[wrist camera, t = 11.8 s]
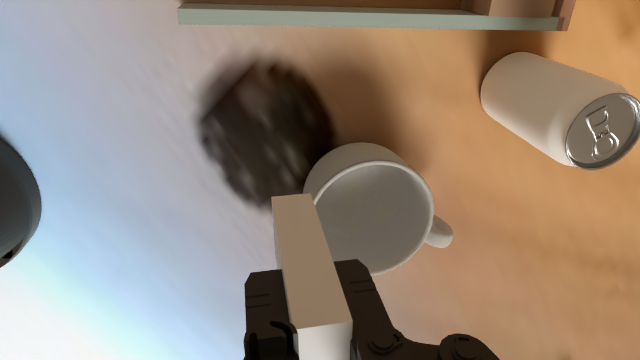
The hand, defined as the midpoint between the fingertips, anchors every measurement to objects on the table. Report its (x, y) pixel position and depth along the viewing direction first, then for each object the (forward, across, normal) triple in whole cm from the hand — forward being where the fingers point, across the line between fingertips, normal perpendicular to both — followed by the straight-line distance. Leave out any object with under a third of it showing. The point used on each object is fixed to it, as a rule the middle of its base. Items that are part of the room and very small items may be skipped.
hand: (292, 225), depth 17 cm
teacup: (+22, -10, +11) cm, 27 cm away
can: (+22, -23, +2) cm, 32 cm away
